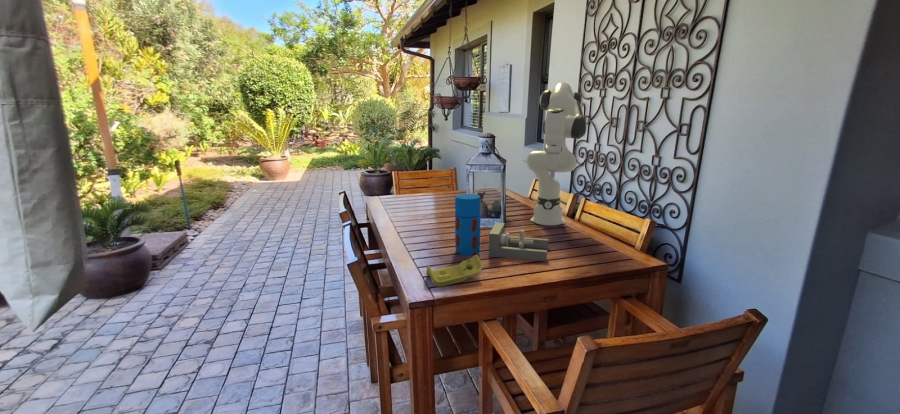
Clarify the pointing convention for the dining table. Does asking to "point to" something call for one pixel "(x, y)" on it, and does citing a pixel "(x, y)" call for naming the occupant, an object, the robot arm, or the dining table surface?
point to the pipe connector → (521, 240)
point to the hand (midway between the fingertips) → (552, 178)
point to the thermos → (467, 224)
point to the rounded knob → (505, 239)
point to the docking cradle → (518, 253)
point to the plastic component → (455, 272)
